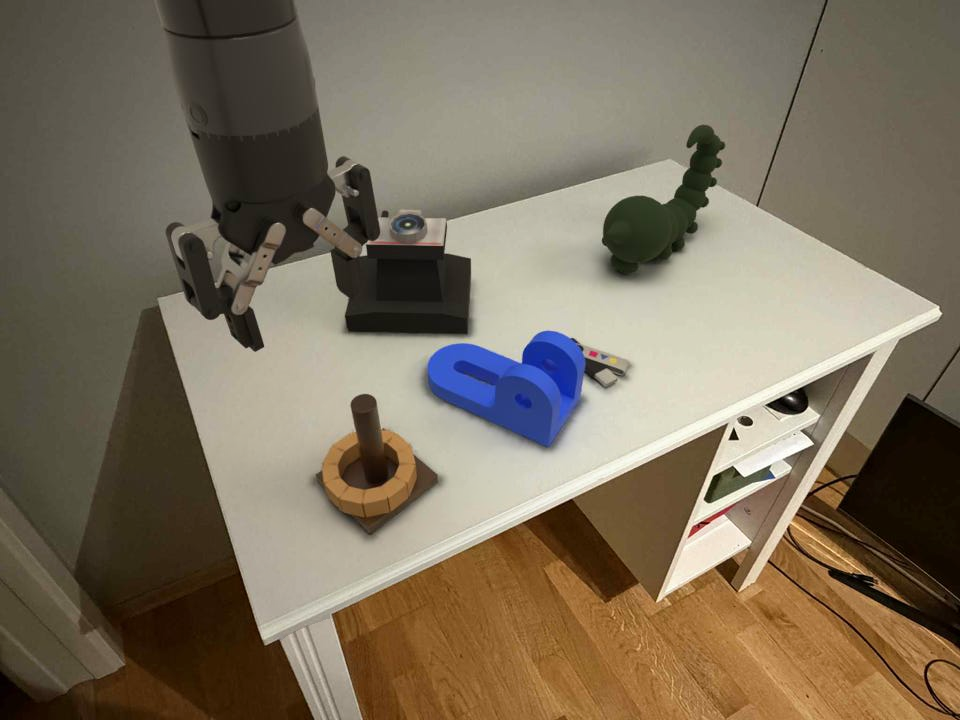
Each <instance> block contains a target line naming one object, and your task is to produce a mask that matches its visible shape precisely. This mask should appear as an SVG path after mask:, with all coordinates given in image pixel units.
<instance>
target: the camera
mask: <svg viewBox="0 0 960 720" xmlns="http://www.w3.org/2000/svg"><path fill="white" fill-rule="evenodd" d="M389 214H390V212H389V210H388V211H387V210H385V209H384V210H382V211H381V214H380V215H381V216H378V220H379V226H380V236H379V237H378V239H377V240H375V241H370V240H369V241H368V242H366V243H365V246H366V247H365V248H366V255H360V260H361V267H362V275H363V286H362V287H361V288H360V296H358V297H356V298H354V299H350V298H348V300H347V304H346V309H345V313H344V319H345V325H346V329H347V332H355V333H356V332H358V333H359V332H361V333H362V332H363V333H401V334H402V333H407V334H408V333H409V334H448V335H449V334H453V335H454V334H457V335H458V334H459V335H468V333H469V317H470V316H469V315H470V299H471V296H470V295H471V283H472V282H471V281H472V258H470V257H466V256H462V255H458V254H457V255H456V254H452V253H447V252H446V253H445V251H446V241H447V234H448V222H447V218H445V217H444V218H443V217H441V218H440V217H425V216H424V215H423V211H422V209H398V210H397V214H395V215H394V216H391V217H389Z"/></svg>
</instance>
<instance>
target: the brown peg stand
mask: <svg viewBox="0 0 960 720" xmlns="http://www.w3.org/2000/svg"><path fill="white" fill-rule="evenodd" d="M349 406H350V411H351V415H352V420H353V425H354V430H355V432H356V435H357V440H358V445H359V450H360V455H361V457H359V458H358V459H356V460H355V461H353V462H352V463H351V464H349V465H348V466H347V467H346V469H345V471H344V473H343V475H342V477H341V479H342V480H343V481H344V482H345V483H346V484H347V485H348V486H349V487H354V488H358V489H362V490H367V489H371V488H376V487H381V486H382V485H384V484H385V483H386V482H388V481H389V480H390V479H392V478H393V477H394V476H395V473H396V471H397V469H398V467H399V465H397V464H396V463H395V462H394V461H393V460H392V459H391V458H390V457H386V456H385V450H384V444H383V438H382V432H381V430H386V429H385V428H382V426H381V419H380V415H379V408H378V402H377V399H376V397H375V396H374V395H372V394H369V393H361V394H358V395H356V396H355V397H353V398H352V399H351V401H350V405H349ZM413 455H414V459H415V463H416V472H417V479H416V482H415V484H414V487H413V489H412V492H411V494H410V496H408V499H406V500H405V501H404V502H403V503H401V504H400V505H399V506H398V507H396V508H395V509H394V510H392V511H390V510H389V513H385V514H380V515H376V516H371V517H367V518H366V515H365V517H360V516H356V515H352V514H349V515H350V516H351V517H352V518H353V519H354V520H355V521H356V522H357V523H358V524H359V525H360V526H361V527H362V528H363V529H364V530H365V531H366V533H368V534H369V535H372V534H374V533H375V532H376V531H377V530H378V529H380V528H381V527H382V526H384V525H385V524H386V523H388V521H391V519H393V518H394V517H395V516H396V515H397V514H399V513H400V512H402V510H404V509H405V508H406V507H407V506H409V505H410V504H411V503H413V502H414V501H415V500H417V499H418V498H419V497H420V496H422V495H423V494H425V492H427V491H428V490H429V489H430V488H432V487H433V486H434V485H435V484H437V483H438V482H439V477H438V474H437V473H436V472H435V471H434V470H433V469H432V468H431V467H429V466H428V465H427V464H426V463H425V462H423V460H421V459H420V458H419V457H418V456H417V455H415V454H414V453H413ZM315 477H316V481H317V482H318V484H320V486H322V488H324V489H325V486H324V483H323V474H322V470H320V471H319V472H317V473H316V474H315Z"/></svg>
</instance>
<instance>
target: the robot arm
mask: <svg viewBox="0 0 960 720" xmlns="http://www.w3.org/2000/svg"><path fill="white" fill-rule="evenodd" d="M152 1H153V4H154V7H155V11H156V14H157V17H158V20H159V23H160V25H161V30H162V34H163V38H164V43H165V49H166V55H167V61H168V65H169V71H170V74H171V78H172V81H173V84H174V88H175V90H176V91H175V92H176V93H177V97H178V100H179V104H180V107H181V110H182V113H183V116H184V119H185V122H186V126H187V129H188V131H189V134H190V138H191V141H192V144H193V147H194V151H195V153H196V157H197V160H198V163H199V166H200V170H201V172H202V176H203V179H204V182H205V185H206V188H207V191H208V193H209V196H210V198H211V203H212V204H211V205H212V207H211V214H210V218H208V219H205V220H202V221H199V222H197V223H193V224H190V225H186V226H185V224H183V223H181V222H180V221H173V222H171V223H169V224H168V225H167V226H166V229H165V236H166V237H165V238H166V240H167V243H168V246H169V249H170V252H171V256H172V259H173V261H174V265H175V268H176V272H177V275H178V279H179V281H180V284H181V287H182V291H183V294H184V297H185V300H186V302H187V303H188V304H189V305H191V307H194V309H196V310H197V311H198V312H199V313H200V315H201V316H202V317H203V318H204V319H205V320H207V321H213V320H216V319H218V318H219V317H220V316H221V315H223V316H224V318H225V319H224V320H225V322H226V324H227V327H228V330H229V332H230V336H232V337H233V338H234V339H235V341H237V342H238V343H239V344H240V345H241V346H242V347H243V348H244V349H248V348H249V349H250V350H252V351H253V352H255V353H257V352H258V351H261V350H262V349H264V348H265V343H264V340H263V337H262V333H261V330H260V327H259V323H258V321H257V317H256V314H255V311H254V308H252V307H251V306H250V305H251V302H252V299H253V297H254V294H255V292H256V289H257V287H258V286H262V285H263V284H264V282H265V279H266V277H267V274H268V272H269V269H270V267H271V264H273V265H274V266H276V265H279V264H280V263H282V262H285V261H286V260H287V259H289V258H291V256H293V255H294V254H298V253H303V252H306V251H308V250H310V249H313V248H314V247H315V246H314V243H315V242H316V241H318V239H319V238H320V237H321V238H322V239H324V240H325V241H327V242H328V243H329V244H330V245H332V246H333V247H334V248H332V249H330V250H329V252H330V257H331V263H332V268H333V273H334V278H335V284H336V287H337V289H338V291H339V292H340V293H341V294H343V295H344V296H345V297H347V298H348V299H349V298H350V299H354V298H356V297H358V296H360V288H361V287H362V286H363V275H362V267H361V260H360V256H361V254H362V252H363V246H365V245H366V243H367V242H368V241H369V240H370V241H375V240H377V239H378V237H379V236H380V226H379V220H378V217H379V215H378V210H377V204H376V198H375V193H374V187H373V181H372V176H371V175H372V174H371V171H370V170H369V168H368V167H366V166H364V165H362V164H360V163H358V162H357V161H355V160H353V159H351V158H349V157H347V156H345V155H343V156H340V157H338V158H337V159H336V162H335V167H334V168H332V169H331V170H329V160H328V154H327V149H326V143H325V137H324V131H323V126H322V120H321V119H322V118H321V114H320V107H319V101H318V97H317V96H318V95H317V90H316V79H315V76H314V71H313V66H312V61H311V57H310V53H309V48H308V45H307V42H306V39H305V36H304V32H303V29H302V26H301V20H300V16H299V14H298V13H299V12H298V7H297V1H296V0H152ZM336 192H337V193H338V194H340V195H341V198H342V199H341V200H342V202H343V207H344V213H345V217H346V221H347V225H346V226H345V227H344V228H343V229H342V228H341V227H340V226H338V225H337V224H336V223H334V222H333V221H332V220H330V219H329V218H328V215H329V213H330V210H331V207H332V205H333V202H334V199H335V197H336ZM221 238H223V240H225V241H226V244H225V245H224V249H223V251H222V254H221V257H220V265H221V269H220V270H221V271H220V273H219V275H218V279H217V281H216V283H215V278H214V276H213V273H212V268H211V264H210V261H211V260H213V259H214V258H215V244H216V242H217V241H218V240H219V239H221ZM246 254H247V255H249V256H250V258H249V260H248V262H247V261H246V260H245V255H246Z"/></svg>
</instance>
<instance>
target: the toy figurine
mask: <svg viewBox="0 0 960 720" xmlns="http://www.w3.org/2000/svg"><path fill="white" fill-rule="evenodd" d="M685 144H686V149H691V148H692V147H693V146H694V145H695V149H696V150H695V151H694V152H693V153H692V155H690V158H689V167H688V168H687V170H685V172H684V173H683V175H682V180H681V183H682V184H680V185H679V186H678V187H677V188H676V189H675V192H674V194H673V198H671V199H670V200H668V201H667V202H666V203H661V202H660V201H658V200H656V199H655V198H653V197H650V196H647V195H633V196H628V197H625V198H623V199H621V200H619V201H618V202H616V203H615V204H614V205H613V206H612V207H611V208H610V210H608V213H606V216H605V218H604V221H603V225H602V238H601V243H602V245H603V246H605V247H606V248H607V249H608V250H609V252H610V253H611V254H612V255H611V257H610V264H611V266H612V267H613V268H614V269H615V270H616V271H618V272H620V273H622V274H625V275H631V274H634V273H635V272H637V271H638V269H639V265H640V264H644V263H646V262H649V261H652V260H653V259H655V258H656V259H659V260H661V261H666V260H668V259H669V258H670V257H671V256H672V254H673V250H674V251H677V252H678V251H682V250H683V249H684V248H685V245H686V240H685V239H684V238H683V237H684V236H685V235H686V234H690V235H693V234H695V233H697V231H698V228H699V224H698V223H697V222H696V221H695V220H696V218H697V212H698V211H699V210H700V209H701V208H702V209H704V208H706V207H708V205H709V204H710V199H709V197H708V196H707V194H706V191H707V190H709V188H714V187H716V185H717V184H718V179H717V178H716V177H713V175H712V173H713V172H714V171H715V169H719V168H720V167H721V166H722V165H723V160H722V159H721V158H720V157H718V155H719V153H720V151H723V150H724V149H726V143H725V141H722V140H721V138H720V137H719V136H718V135H717V134H716V133H715V130H714V128H713V127H712V126H710V125H708V124H700V125H697V126H695V127H694V128H693V130H691V132H690V134H689V136H688V138H687V141H686V143H685Z"/></svg>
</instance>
